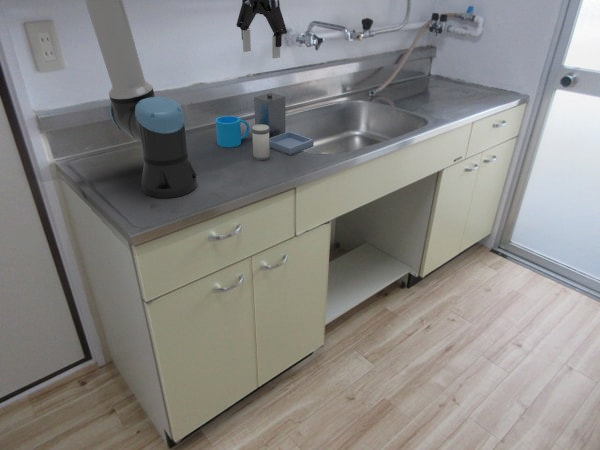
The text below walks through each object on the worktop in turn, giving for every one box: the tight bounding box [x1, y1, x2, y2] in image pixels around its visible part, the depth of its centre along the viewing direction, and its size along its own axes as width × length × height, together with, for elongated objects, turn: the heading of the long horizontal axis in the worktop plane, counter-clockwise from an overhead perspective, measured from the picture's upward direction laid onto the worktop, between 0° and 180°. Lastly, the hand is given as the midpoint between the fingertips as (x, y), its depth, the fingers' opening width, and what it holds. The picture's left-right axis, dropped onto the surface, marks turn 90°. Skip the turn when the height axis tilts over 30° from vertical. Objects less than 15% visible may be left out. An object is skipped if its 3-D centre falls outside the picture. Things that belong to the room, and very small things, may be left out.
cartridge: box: [251, 124, 271, 162], centre depth 144 cm, size 5×5×10 cm
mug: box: [215, 115, 251, 148], centre depth 156 cm, size 12×8×8 cm
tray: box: [269, 130, 315, 156], centre depth 154 cm, size 11×11×2 cm
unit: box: [253, 92, 286, 138], centre depth 159 cm, size 8×7×15 cm
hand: (261, 54), depth 147 cm, fingers open, 13 cm apart
